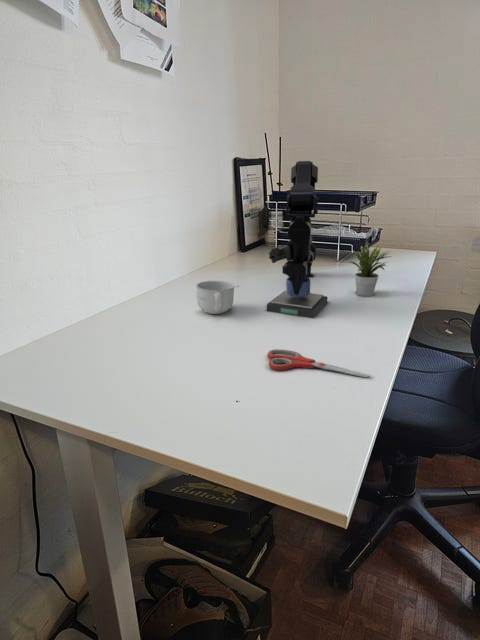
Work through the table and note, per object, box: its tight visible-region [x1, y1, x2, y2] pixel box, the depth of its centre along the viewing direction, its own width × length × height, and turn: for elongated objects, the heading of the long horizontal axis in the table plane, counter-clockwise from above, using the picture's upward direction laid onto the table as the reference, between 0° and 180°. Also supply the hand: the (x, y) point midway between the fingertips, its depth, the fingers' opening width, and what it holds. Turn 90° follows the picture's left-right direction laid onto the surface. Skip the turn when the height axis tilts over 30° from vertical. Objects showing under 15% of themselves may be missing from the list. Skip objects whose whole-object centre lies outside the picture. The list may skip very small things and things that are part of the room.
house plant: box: [347, 243, 393, 297], centre depth 125 cm, size 14×14×16 cm
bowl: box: [285, 276, 312, 297], centre depth 116 cm, size 7×7×4 cm
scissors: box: [266, 348, 370, 378], centre depth 84 cm, size 8×21×2 cm, turn 78°
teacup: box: [195, 280, 235, 315], centre depth 114 cm, size 14×11×8 cm
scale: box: [266, 291, 329, 319], centre depth 118 cm, size 14×14×2 cm
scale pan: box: [270, 290, 325, 309], centre depth 118 cm, size 12×12×1 cm
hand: (298, 290), depth 117 cm, fingers closed on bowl, 7 cm apart
